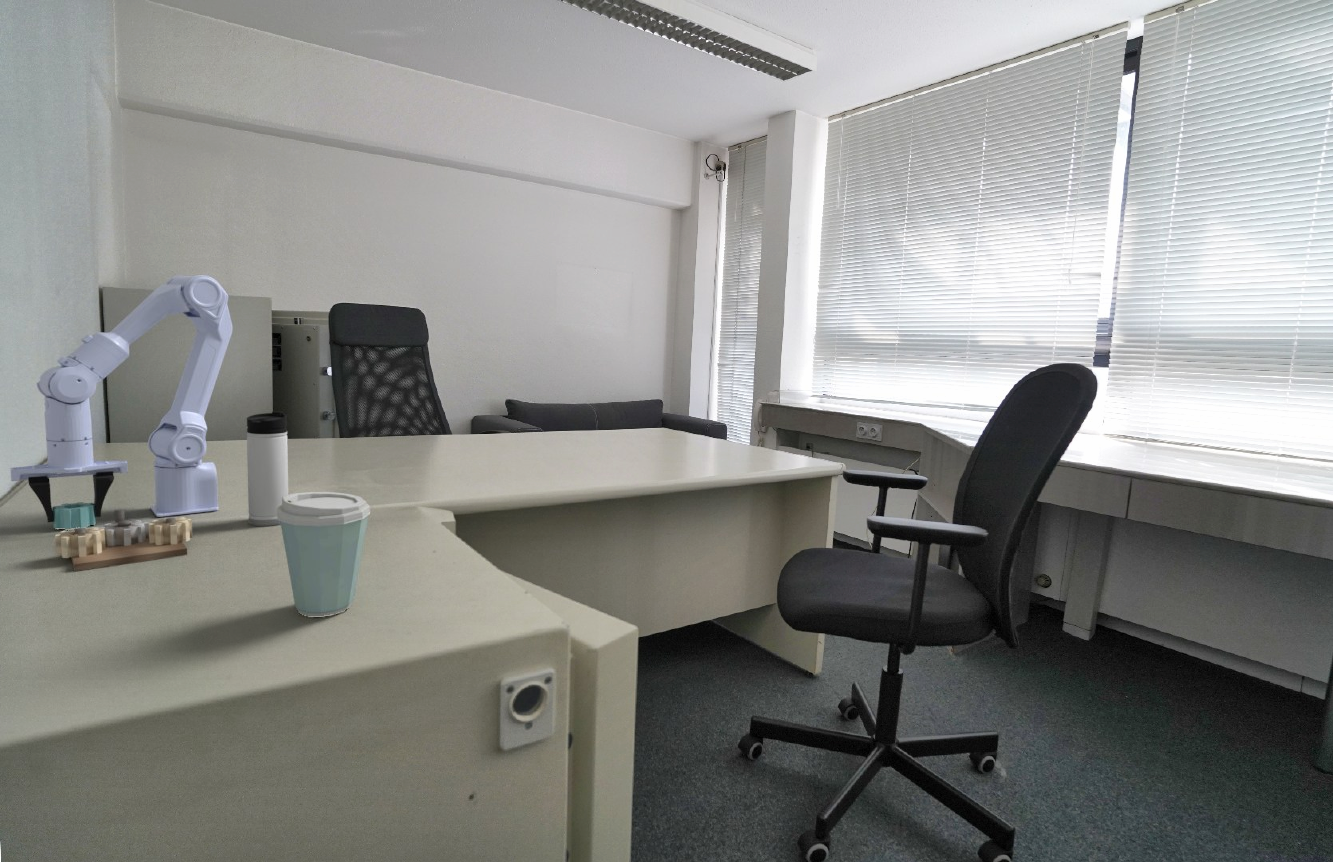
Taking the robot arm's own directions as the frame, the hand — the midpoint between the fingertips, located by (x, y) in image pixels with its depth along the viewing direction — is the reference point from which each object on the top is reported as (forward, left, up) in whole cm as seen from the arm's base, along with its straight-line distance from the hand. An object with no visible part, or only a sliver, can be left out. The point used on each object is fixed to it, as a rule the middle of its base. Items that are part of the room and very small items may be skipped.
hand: (74, 518), depth 112 cm
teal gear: (0, 0, -1) cm, 1 cm away
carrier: (-5, +17, -1) cm, 18 cm away
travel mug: (-26, +13, -2) cm, 29 cm away
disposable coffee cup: (-21, +59, -2) cm, 63 cm away
